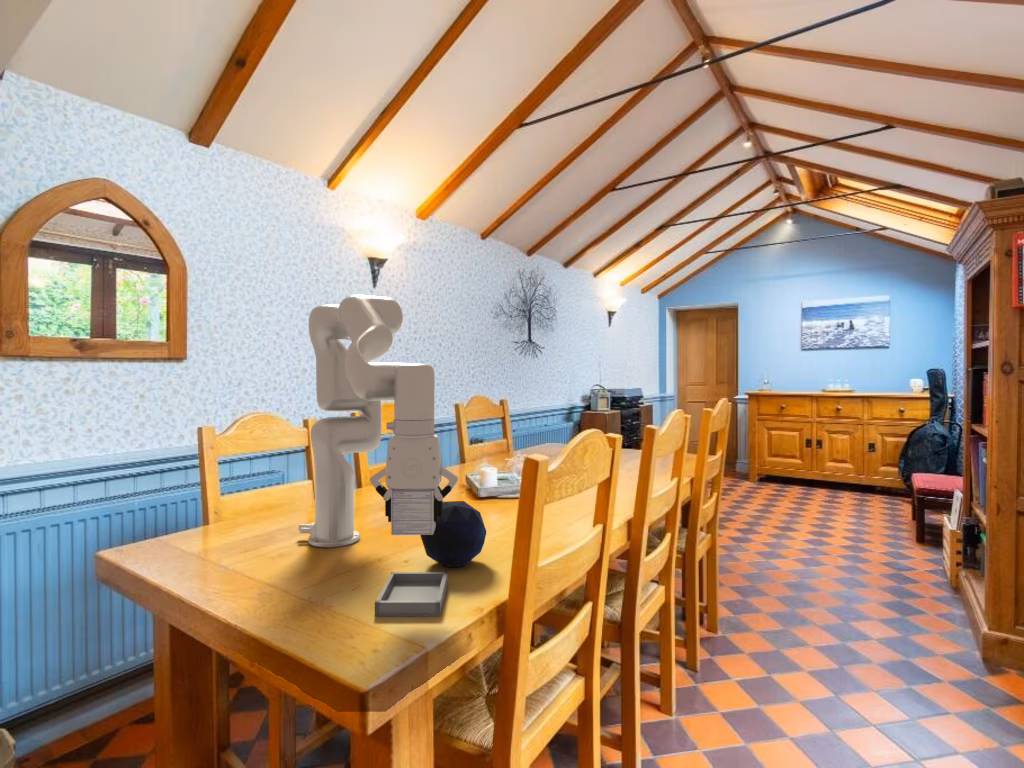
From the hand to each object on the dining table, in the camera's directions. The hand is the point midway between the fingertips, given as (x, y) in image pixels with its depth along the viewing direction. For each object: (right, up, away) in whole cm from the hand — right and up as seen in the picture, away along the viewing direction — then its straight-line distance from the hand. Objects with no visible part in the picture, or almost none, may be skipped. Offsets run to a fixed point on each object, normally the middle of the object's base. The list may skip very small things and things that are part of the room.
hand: (414, 519), depth 104 cm
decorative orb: (+5, -15, +20) cm, 25 cm away
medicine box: (0, -3, 0) cm, 3 cm away
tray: (0, -15, 0) cm, 15 cm away
